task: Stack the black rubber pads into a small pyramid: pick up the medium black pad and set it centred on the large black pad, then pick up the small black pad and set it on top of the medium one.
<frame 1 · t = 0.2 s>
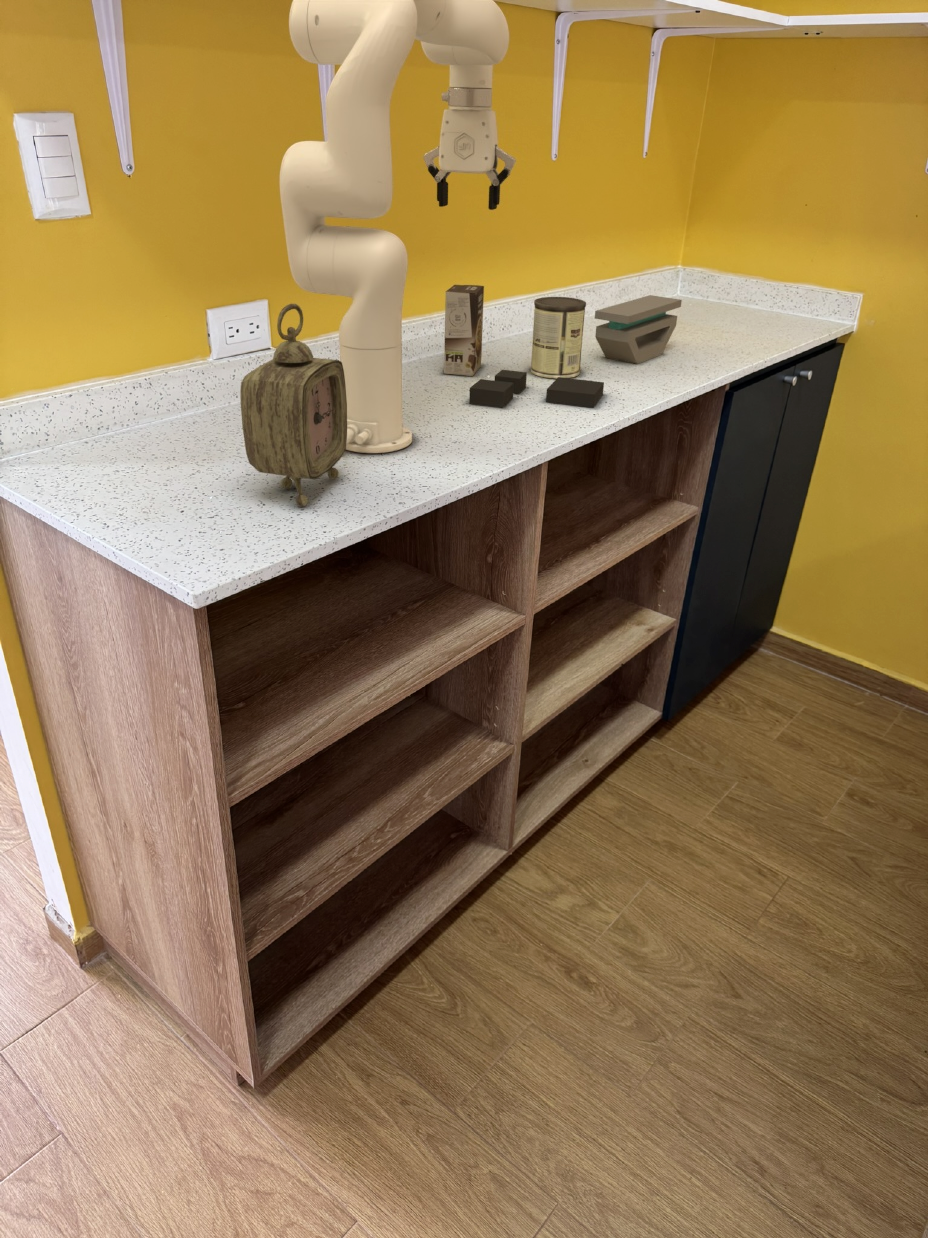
hand: (467, 207, 163), 31 cm above the counter, tool pointing down, fingers open, 9 cm apart
large pad: (574, 398, 166), on the counter
coffee box: (463, 370, 182), on the counter
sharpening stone: (633, 356, 196), on the counter
medium pad: (491, 401, 163), on the counter
tabletop clock: (300, 491, 124), on the counter
coffee can: (554, 373, 182), on the counter
small pad: (510, 389, 170), on the counter
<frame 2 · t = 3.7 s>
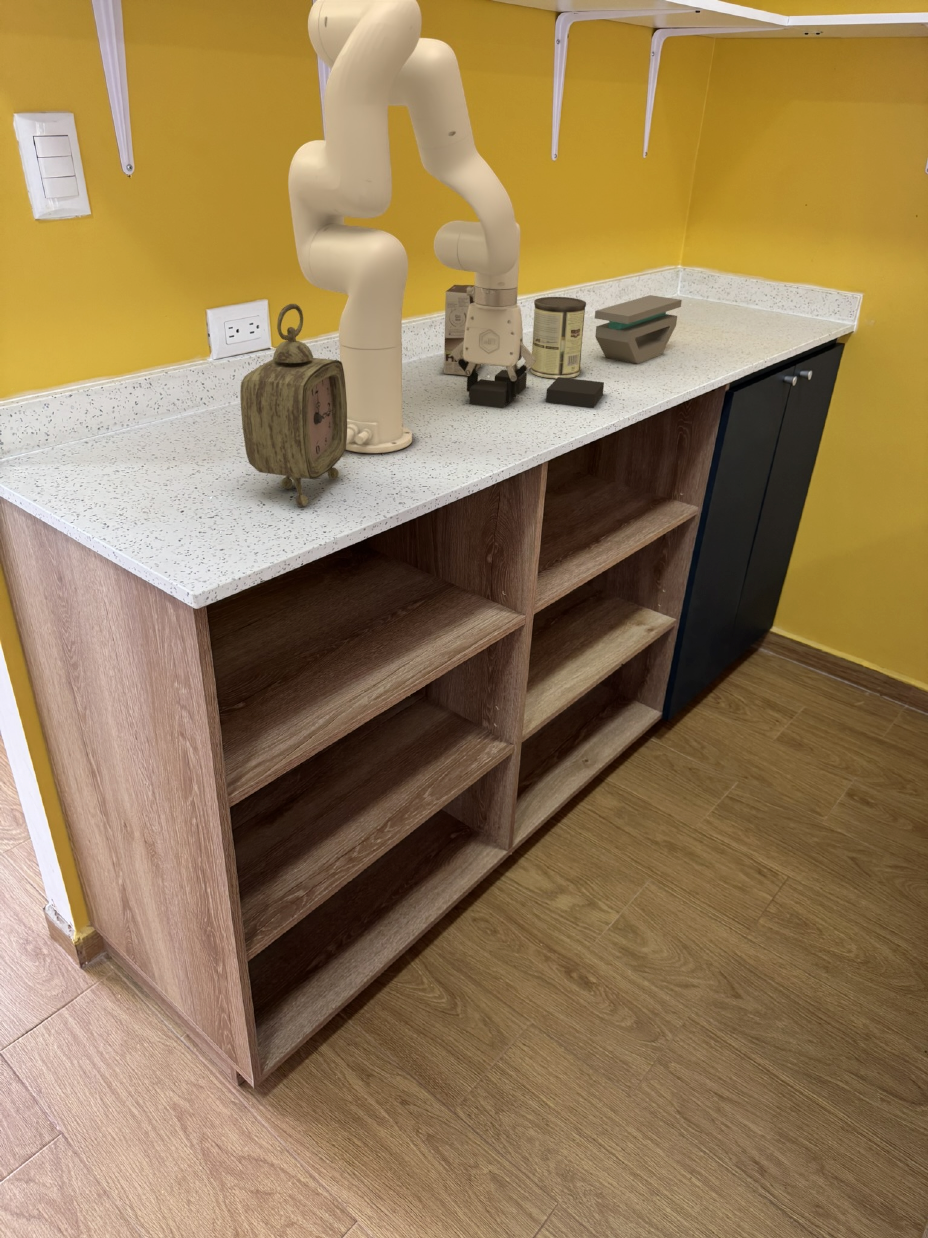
hand: (491, 397, 163), 1 cm above the counter, tool pointing down, fingers closed on medium pad, 6 cm apart
medium pad: (491, 401, 163), on the counter, touching gripper
everything else where it was.
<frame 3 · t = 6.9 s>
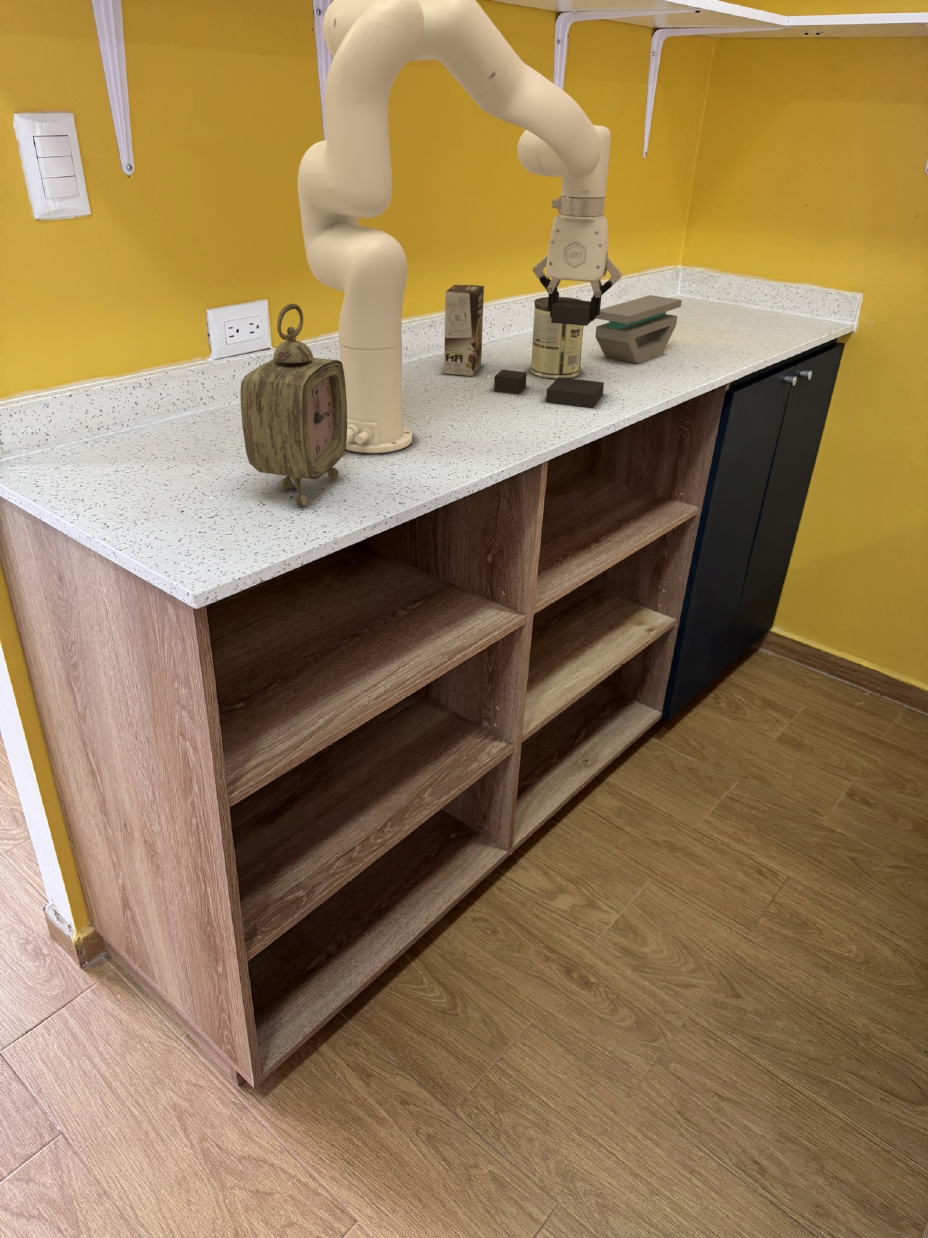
hand: (573, 316, 158), 15 cm above the counter, tool pointing down, fingers closed on medium pad, 6 cm apart
medium pad: (572, 320, 159), point 14 cm above the counter, touching gripper
everything else where it was.
when the fingers open (3 cm above the counter, at t = 10.1 s): medium pad stays where it is, resting on large pad.
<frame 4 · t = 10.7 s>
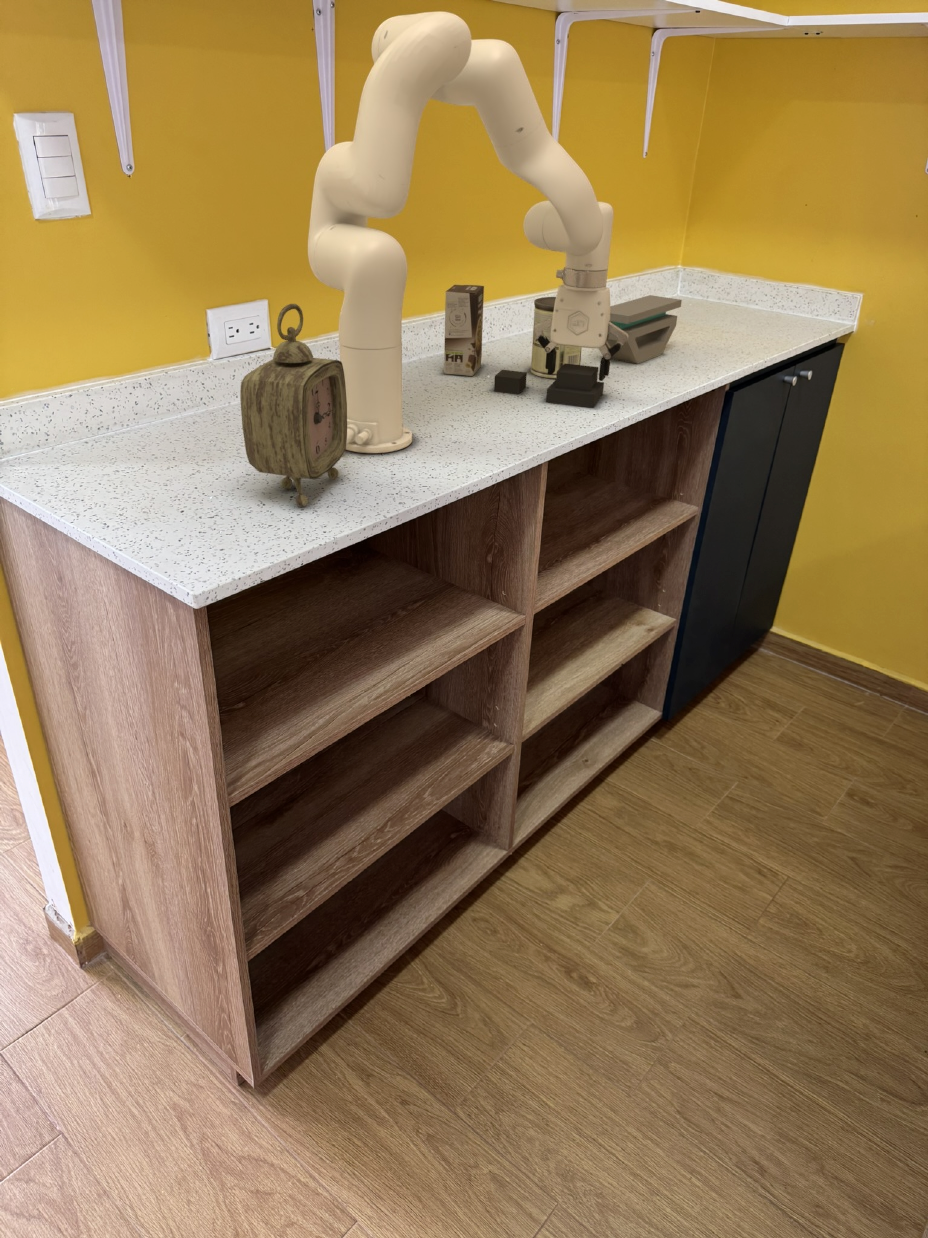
hand: (576, 376, 164), 4 cm above the counter, tool pointing down, fingers open, 9 cm apart
large pad: (574, 398, 166), on the counter, touching medium pad
medium pad: (576, 385, 165), point 3 cm above the counter, touching large pad
everything else where it was.
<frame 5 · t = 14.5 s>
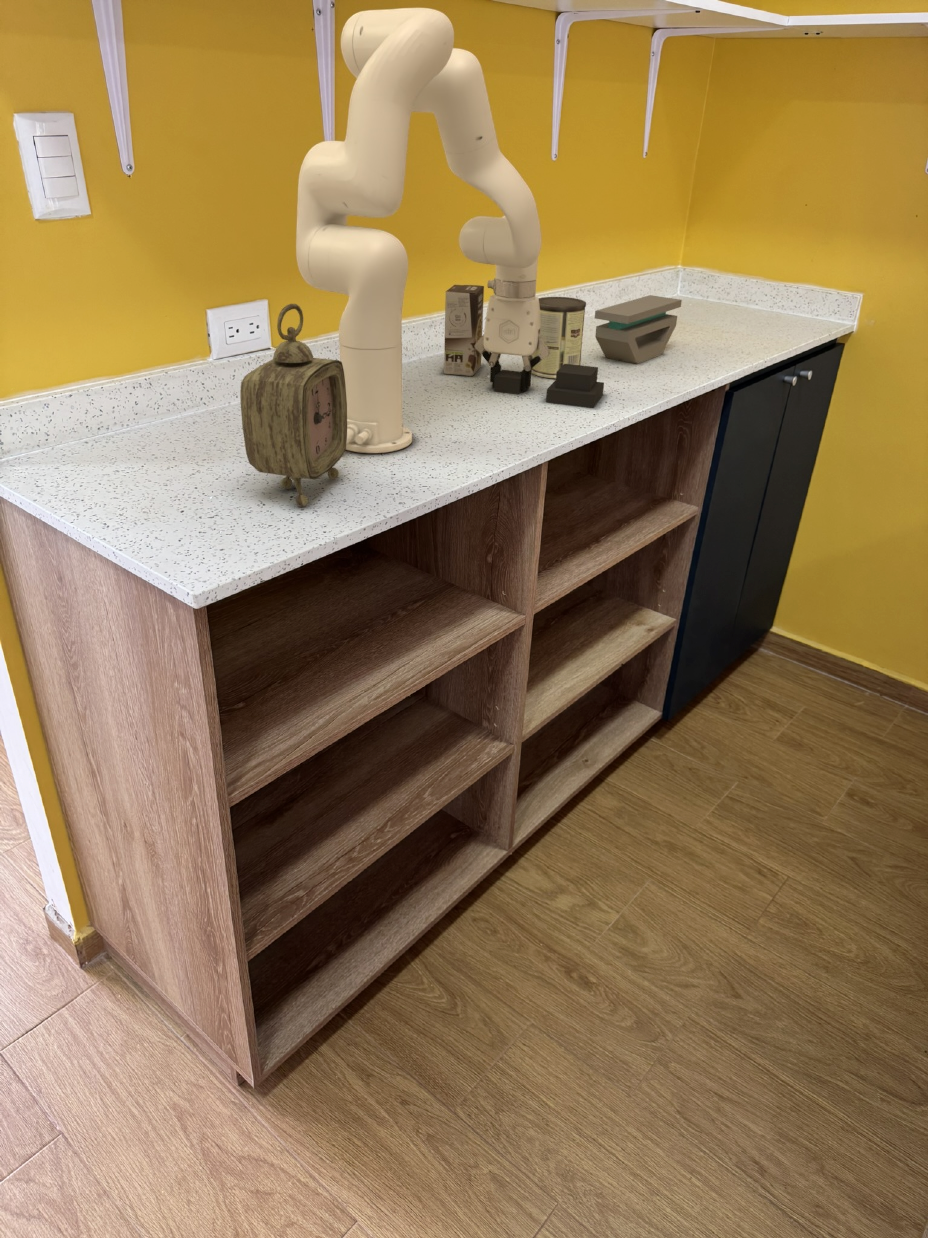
hand: (510, 387, 170), 0 cm above the counter, tool pointing down, fingers closed on small pad, 5 cm apart
small pad: (510, 389, 170), on the counter, touching gripper
everything else where it was.
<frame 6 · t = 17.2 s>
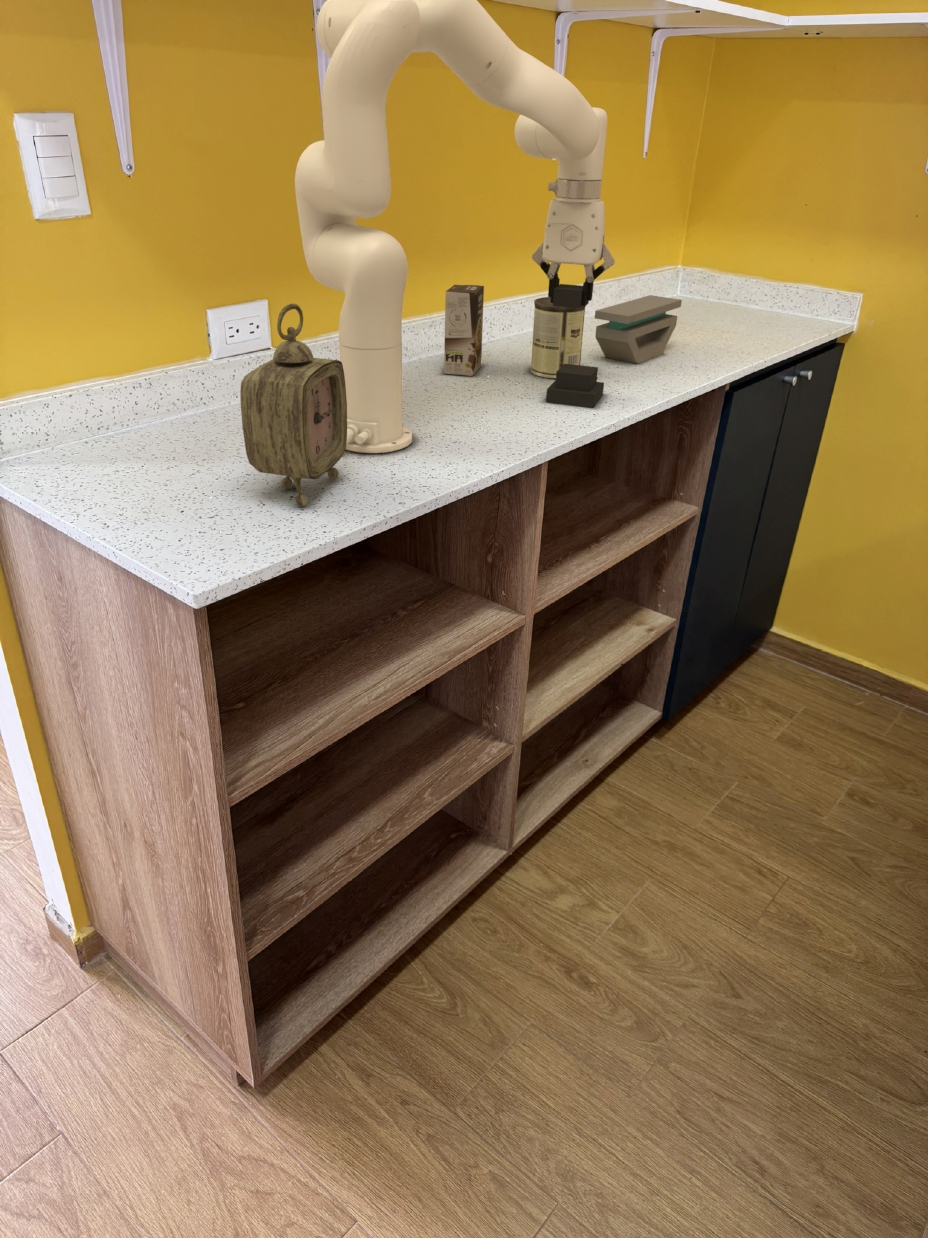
hand: (569, 301, 158), 17 cm above the counter, tool pointing down, fingers closed on small pad, 5 cm apart
small pad: (569, 304, 158), point 17 cm above the counter, touching gripper
everything else where it was.
when the fingers open (6 cm above the counter, at t = 20.3 s): small pad stays where it is, resting on medium pad.
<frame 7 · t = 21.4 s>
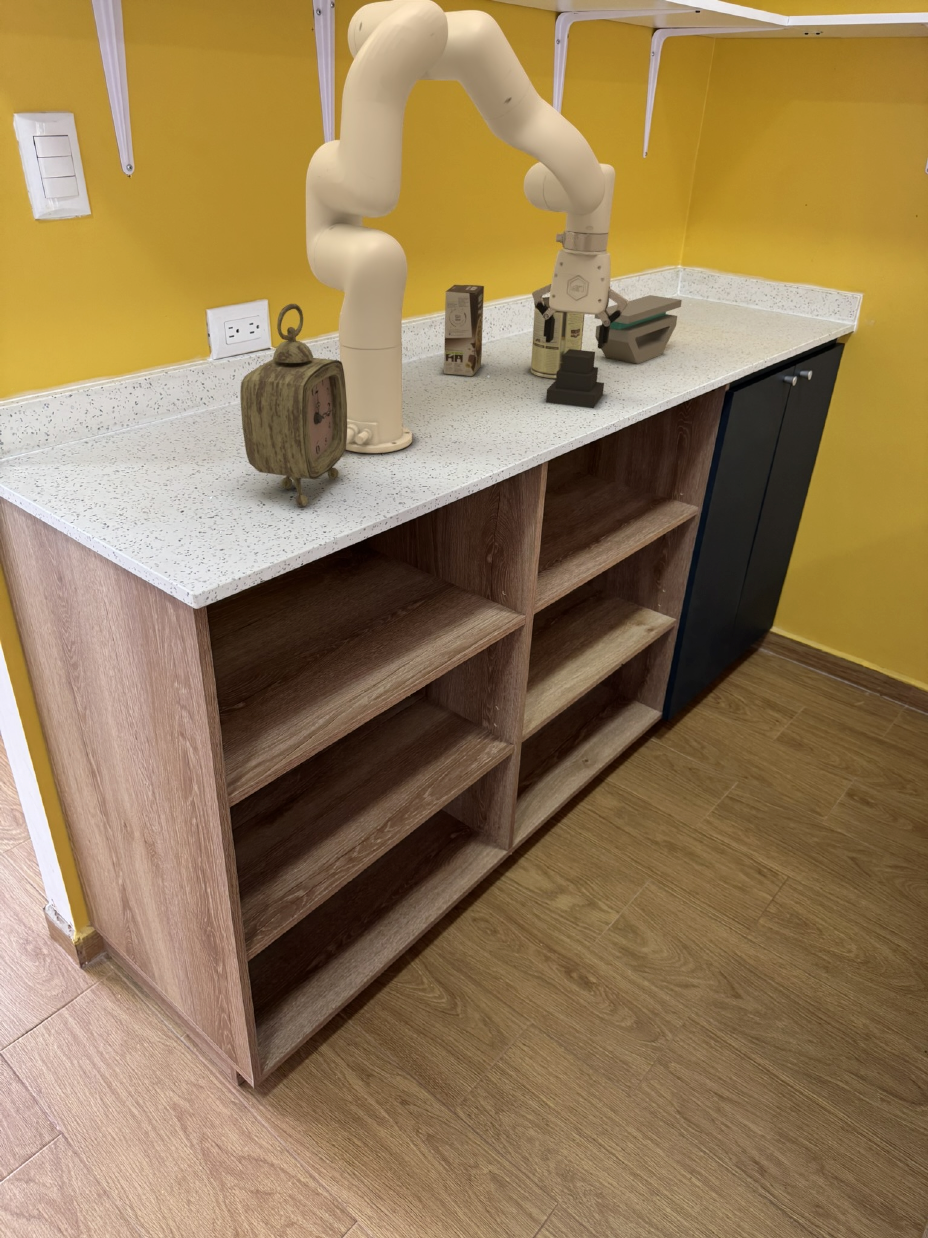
hand: (574, 344, 161), 10 cm above the counter, tool pointing down, fingers open, 9 cm apart
medium pad: (576, 385, 165), point 2 cm above the counter, touching large pad, small pad
small pad: (577, 369, 163), point 5 cm above the counter, touching medium pad
everything else where it was.
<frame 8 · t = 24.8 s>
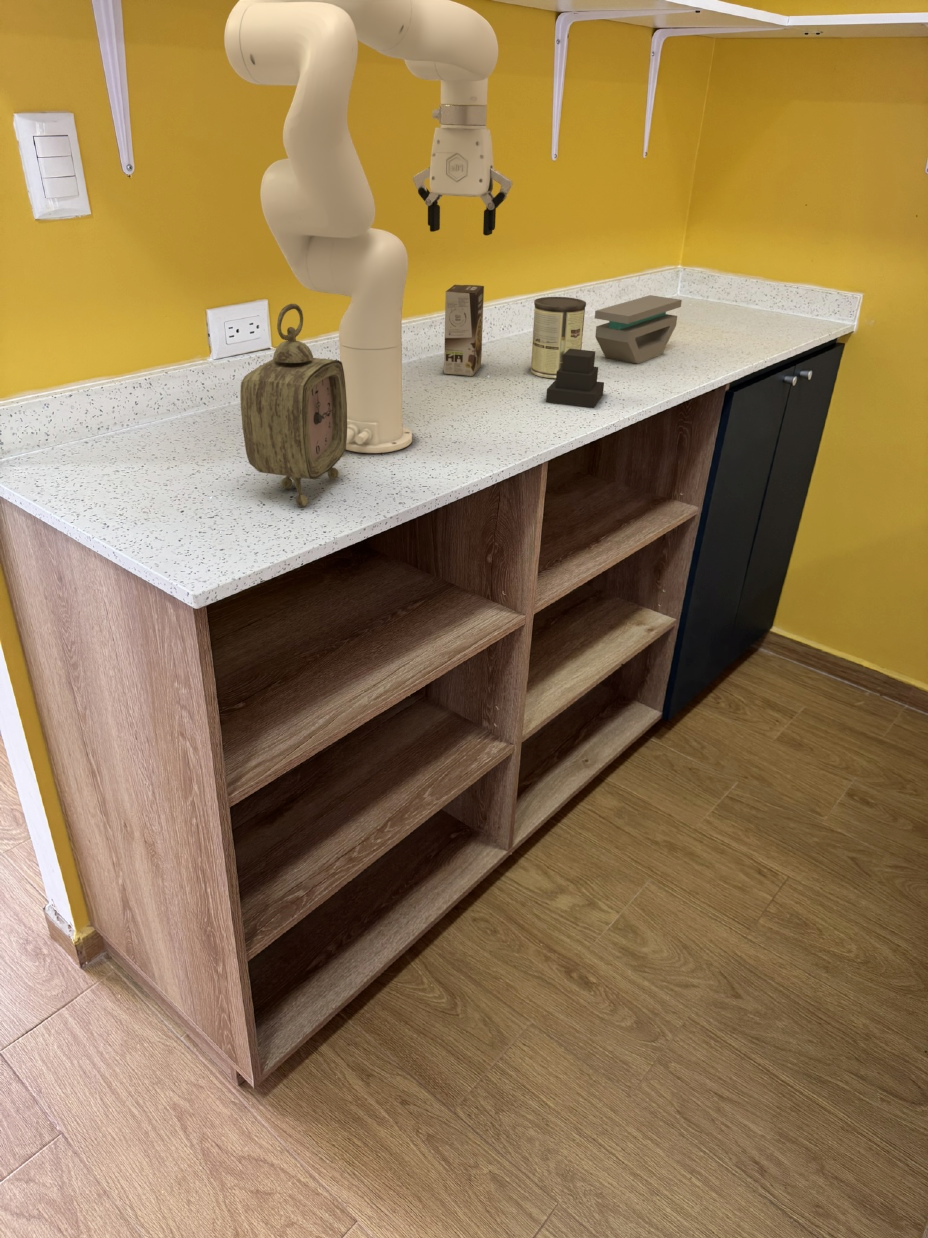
hand: (461, 232, 152), 28 cm above the counter, tool pointing down, fingers open, 9 cm apart
nothing on the counter moved.
at the end: medium pad 0.1 cm off-centre on the large pad, point 2.5 cm above the large pad's base; small pad 0.2 cm off-centre on the large pad, point 5.5 cm above the large pad's base; small pad tilted 0° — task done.
